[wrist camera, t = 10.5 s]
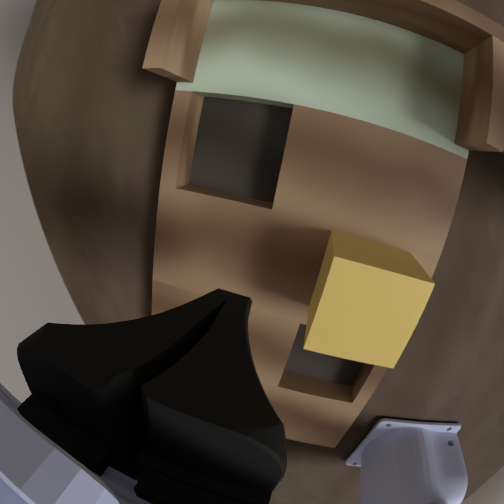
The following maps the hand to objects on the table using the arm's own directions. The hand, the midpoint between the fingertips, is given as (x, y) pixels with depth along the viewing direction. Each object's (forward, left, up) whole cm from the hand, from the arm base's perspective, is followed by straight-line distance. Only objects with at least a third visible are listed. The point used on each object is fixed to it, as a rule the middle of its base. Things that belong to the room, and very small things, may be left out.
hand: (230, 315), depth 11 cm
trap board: (-1, -1, -8) cm, 8 cm away
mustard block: (-5, -1, -6) cm, 8 cm away
